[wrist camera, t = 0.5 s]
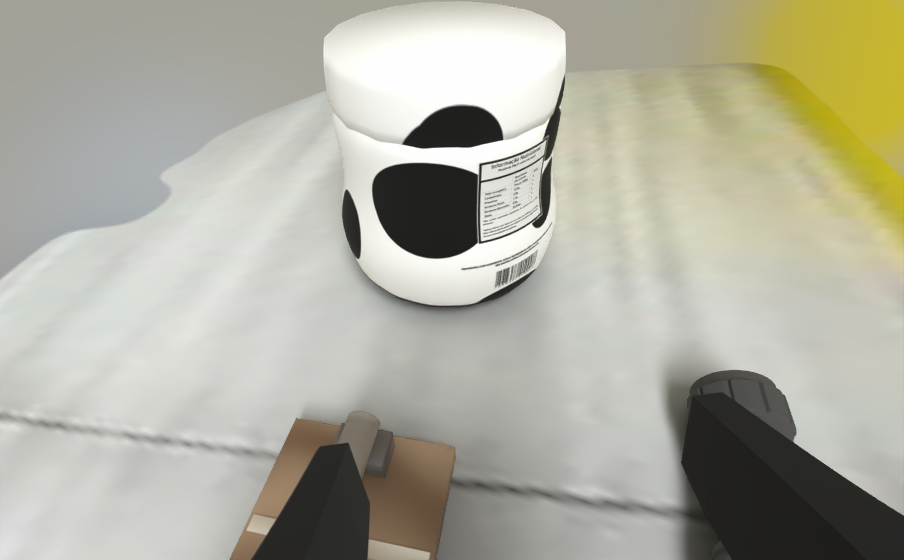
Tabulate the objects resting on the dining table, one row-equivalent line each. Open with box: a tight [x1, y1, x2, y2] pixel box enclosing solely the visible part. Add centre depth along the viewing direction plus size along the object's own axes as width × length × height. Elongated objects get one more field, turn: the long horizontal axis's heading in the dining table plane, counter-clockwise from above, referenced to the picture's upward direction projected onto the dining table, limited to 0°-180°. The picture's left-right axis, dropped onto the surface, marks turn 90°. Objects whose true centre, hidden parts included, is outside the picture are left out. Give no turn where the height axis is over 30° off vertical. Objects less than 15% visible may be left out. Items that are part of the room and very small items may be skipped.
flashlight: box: [687, 370, 796, 560], centre depth 23 cm, size 15×5×5 cm, turn 167°
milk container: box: [324, 1, 566, 307], centre depth 35 cm, size 17×17×18 cm
